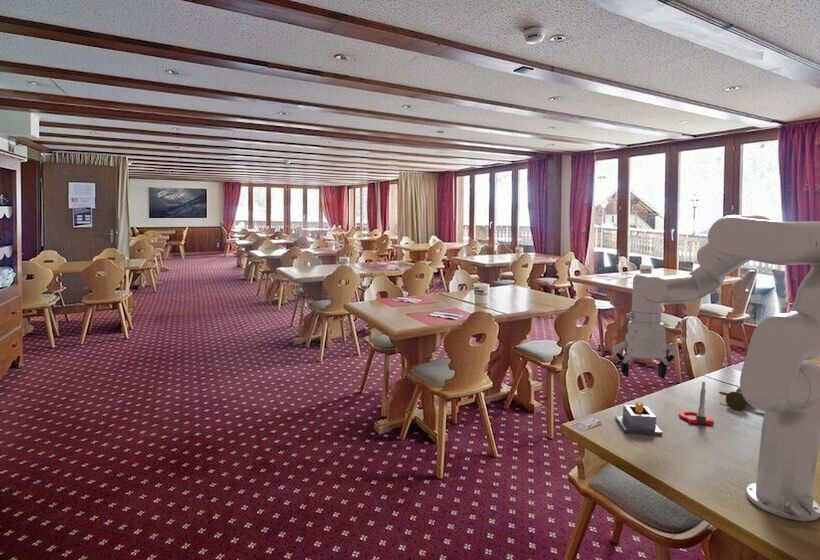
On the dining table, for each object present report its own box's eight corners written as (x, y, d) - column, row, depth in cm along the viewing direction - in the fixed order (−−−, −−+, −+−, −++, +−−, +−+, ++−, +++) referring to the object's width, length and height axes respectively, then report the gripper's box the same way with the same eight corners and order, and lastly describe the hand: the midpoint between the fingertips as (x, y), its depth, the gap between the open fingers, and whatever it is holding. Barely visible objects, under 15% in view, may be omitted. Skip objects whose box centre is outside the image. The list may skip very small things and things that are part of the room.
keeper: (662, 435, 134) (664, 411, 134) (624, 433, 136) (626, 409, 135) (650, 420, 144) (652, 398, 143) (615, 418, 146) (616, 396, 145)
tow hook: (674, 413, 151) (686, 424, 142) (676, 373, 150) (689, 381, 141) (703, 415, 150) (717, 426, 141) (706, 374, 149) (720, 383, 140)
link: (655, 430, 136) (656, 417, 135) (630, 428, 136) (631, 415, 136) (646, 418, 143) (646, 405, 143) (622, 417, 144) (623, 404, 144)
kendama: (787, 426, 142) (712, 403, 158) (795, 418, 149) (722, 397, 164) (790, 407, 142) (714, 386, 157) (798, 400, 148) (725, 380, 163)
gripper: (617, 319, 133) (614, 379, 135) (684, 320, 131) (680, 382, 132) (610, 314, 141) (608, 371, 143) (673, 316, 138) (670, 373, 140)
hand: (643, 376), depth 138 cm, fingers open, 9 cm apart
